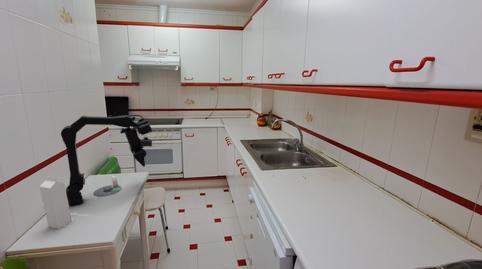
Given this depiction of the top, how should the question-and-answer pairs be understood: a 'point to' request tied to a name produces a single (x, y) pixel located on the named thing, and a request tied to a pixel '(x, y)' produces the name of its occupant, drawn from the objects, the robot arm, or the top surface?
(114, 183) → the peg
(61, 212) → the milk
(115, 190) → the grey round disc
